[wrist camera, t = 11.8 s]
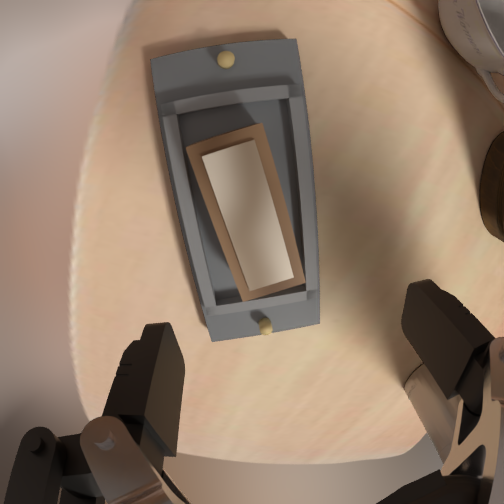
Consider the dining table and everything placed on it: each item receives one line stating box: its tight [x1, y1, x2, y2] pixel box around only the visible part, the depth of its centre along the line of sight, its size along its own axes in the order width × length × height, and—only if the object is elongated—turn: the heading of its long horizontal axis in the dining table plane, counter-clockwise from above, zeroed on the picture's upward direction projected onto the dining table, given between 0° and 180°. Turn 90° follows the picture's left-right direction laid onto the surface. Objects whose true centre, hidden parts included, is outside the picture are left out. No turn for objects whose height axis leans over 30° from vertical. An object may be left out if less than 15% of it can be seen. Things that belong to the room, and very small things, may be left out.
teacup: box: [438, 0, 504, 103], centre depth 14 cm, size 14×11×8 cm
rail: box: [150, 39, 320, 342], centre depth 23 cm, size 11×26×3 cm, turn 8°
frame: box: [186, 123, 306, 302], centre depth 21 cm, size 5×12×4 cm, turn 17°
